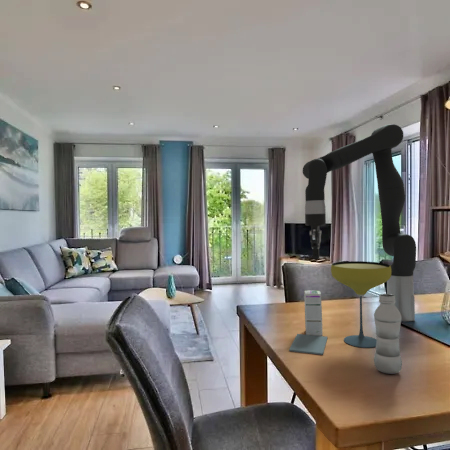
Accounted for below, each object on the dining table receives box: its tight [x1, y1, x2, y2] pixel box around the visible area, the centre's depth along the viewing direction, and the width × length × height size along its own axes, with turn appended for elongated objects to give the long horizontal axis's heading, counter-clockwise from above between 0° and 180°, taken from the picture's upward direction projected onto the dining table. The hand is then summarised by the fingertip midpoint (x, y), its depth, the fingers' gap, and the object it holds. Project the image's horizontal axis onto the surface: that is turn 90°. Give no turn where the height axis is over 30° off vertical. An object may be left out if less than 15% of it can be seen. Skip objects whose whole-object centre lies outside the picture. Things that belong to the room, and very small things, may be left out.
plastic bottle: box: [373, 293, 403, 375], centre depth 91 cm, size 6×7×20 cm
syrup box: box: [303, 289, 324, 336], centre depth 122 cm, size 6×6×14 cm
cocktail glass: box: [330, 260, 391, 349], centre depth 113 cm, size 18×18×25 cm
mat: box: [288, 333, 328, 356], centre depth 112 cm, size 10×15×1 cm, turn 159°
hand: (316, 258), depth 132 cm, fingers closed
